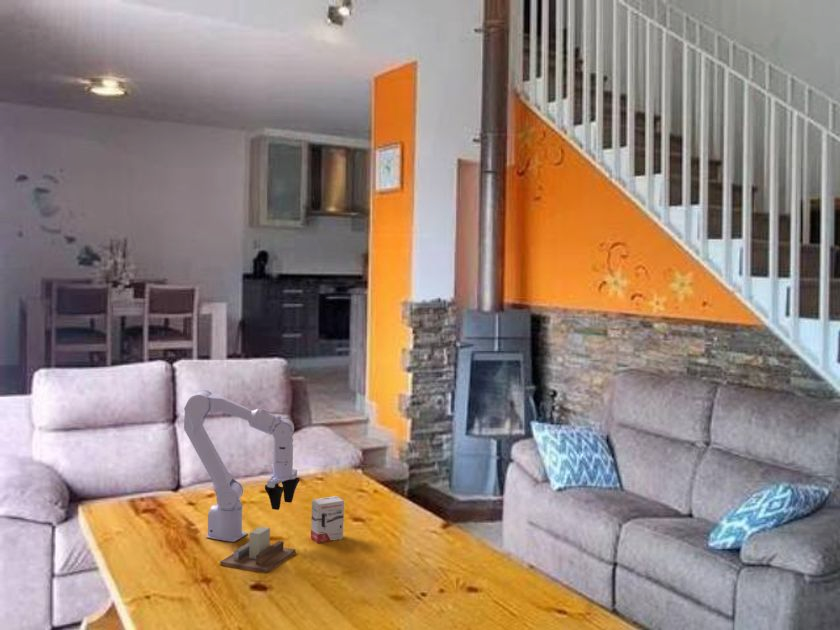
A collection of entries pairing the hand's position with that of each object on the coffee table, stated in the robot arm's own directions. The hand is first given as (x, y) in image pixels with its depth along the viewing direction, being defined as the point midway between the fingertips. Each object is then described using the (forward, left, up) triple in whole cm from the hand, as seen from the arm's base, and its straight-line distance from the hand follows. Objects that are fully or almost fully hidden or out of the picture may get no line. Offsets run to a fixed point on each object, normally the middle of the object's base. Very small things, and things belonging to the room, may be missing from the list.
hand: (282, 505), depth 231 cm
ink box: (+13, +4, -10) cm, 17 cm away
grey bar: (0, -18, -9) cm, 20 cm away
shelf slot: (+3, -18, -9) cm, 21 cm away
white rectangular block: (+3, -18, -8) cm, 20 cm away
